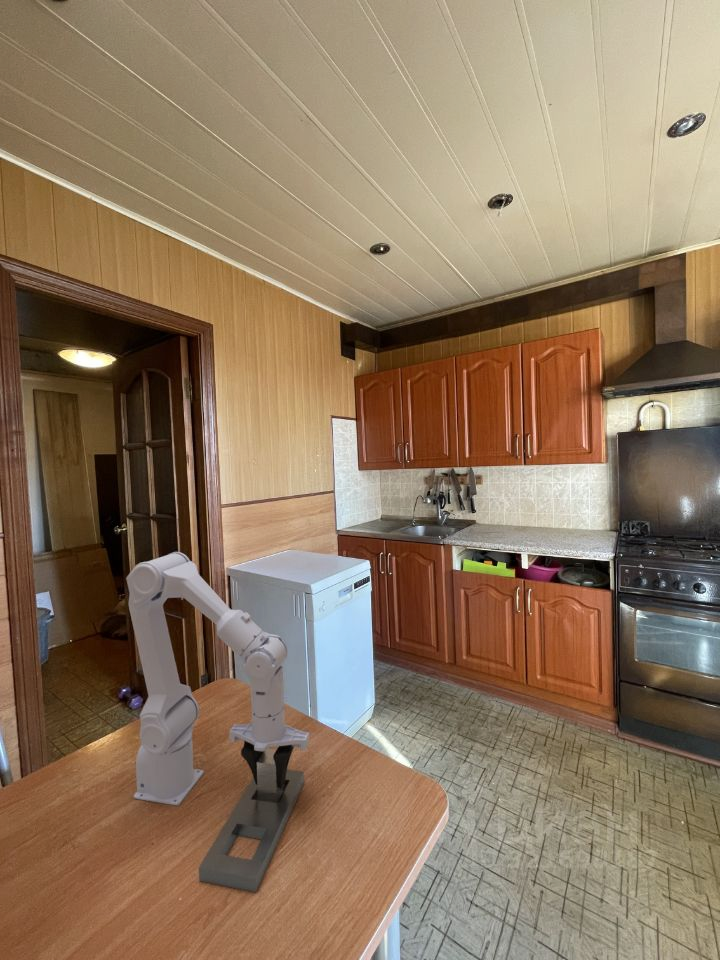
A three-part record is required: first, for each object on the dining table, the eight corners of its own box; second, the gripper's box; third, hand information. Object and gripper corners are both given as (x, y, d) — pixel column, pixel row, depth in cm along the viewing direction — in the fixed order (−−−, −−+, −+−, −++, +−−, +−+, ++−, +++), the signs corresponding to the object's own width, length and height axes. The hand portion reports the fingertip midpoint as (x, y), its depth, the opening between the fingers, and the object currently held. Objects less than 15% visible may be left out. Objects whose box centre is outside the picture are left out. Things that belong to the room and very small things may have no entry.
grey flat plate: (199, 880, 58) (198, 867, 58) (260, 775, 77) (260, 765, 77) (256, 892, 56) (255, 878, 56) (304, 781, 75) (303, 771, 75)
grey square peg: (257, 800, 70) (256, 762, 70) (266, 785, 74) (265, 748, 74) (276, 804, 70) (275, 764, 69) (284, 787, 73) (283, 750, 73)
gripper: (219, 717, 69) (222, 794, 69) (298, 726, 66) (301, 806, 66) (239, 694, 75) (241, 764, 76) (312, 701, 73) (314, 774, 73)
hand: (270, 781), depth 71 cm, fingers closed on grey square peg, 4 cm apart
